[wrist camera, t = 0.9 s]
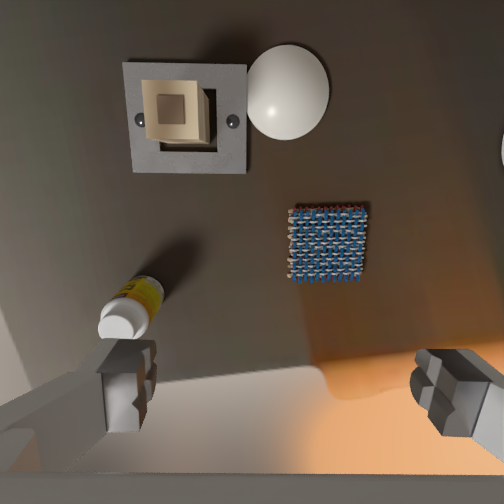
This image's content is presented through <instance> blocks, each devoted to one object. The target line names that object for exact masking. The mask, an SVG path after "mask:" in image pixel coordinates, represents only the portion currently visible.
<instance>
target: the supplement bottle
mask: <svg viewBox="0 0 504 504" xmlns="http://www.w3.org/2000/svg"><path fill="white" fill-rule="evenodd" d="M163 300H164V290H163V288H162V286H161V284H160V283H159V282H158V281H157V280H155V279H154V278H152V277H149V276H137V277H135V278H133V279H131V280H130V281H129V282H128V283H127V284H126V285H125V286H124V287H123V288H122V289H121V290H120V291H119V292H118V293H117V294H116V295H115V296H114V297H113V298H112V299H111V300H110V301H109V302H108V303H107V304H106V305H105V307H104V308H103V310H102V313H101V321H100V323H99V326H98V332H99V335H100V337H101V338H102V339H103V338H120V339H137V338H139V337H140V336H141V335H143V334H144V332H145V331H146V330H147V328H148V326H149V325H150V323H151V321H152V320H153V318H154V316H155V315H156V313H157V311H158V310H159V308H160V306H161V305H162V303H163Z"/></svg>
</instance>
